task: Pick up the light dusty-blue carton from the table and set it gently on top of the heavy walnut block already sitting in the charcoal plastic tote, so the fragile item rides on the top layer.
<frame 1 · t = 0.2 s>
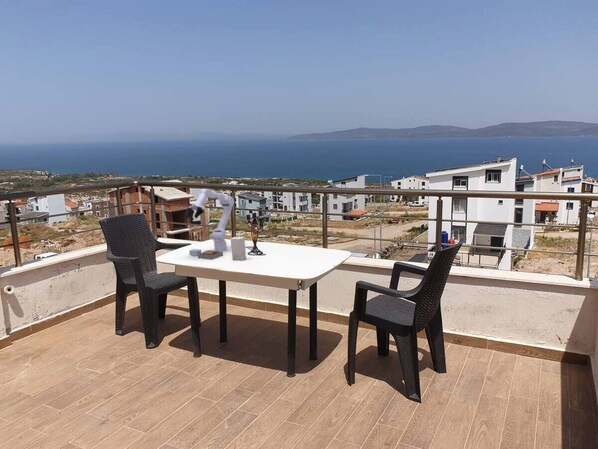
hand: (191, 217, 302), 31 cm above the table, tool tilted 45°, fingers open, 7 cm apart
carton: (195, 256, 319), on the table
skincare box: (239, 259, 306), on the table
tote: (210, 257, 313), on the table
walnut block: (210, 256, 313), point 1 cm above the table, touching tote
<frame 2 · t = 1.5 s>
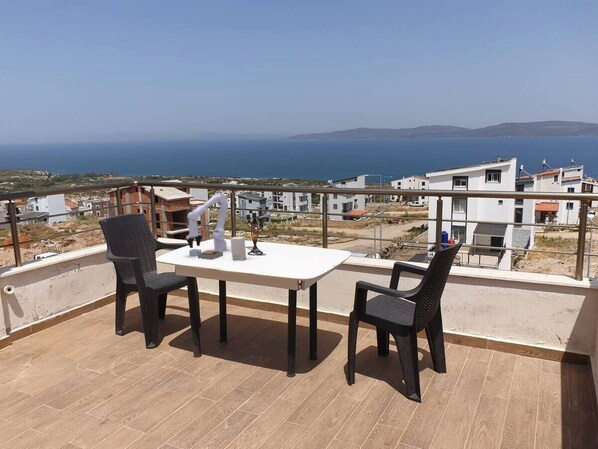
hand: (194, 246, 318), 7 cm above the table, tool pointing down, fingers open, 7 cm apart
nothing on the table moved.
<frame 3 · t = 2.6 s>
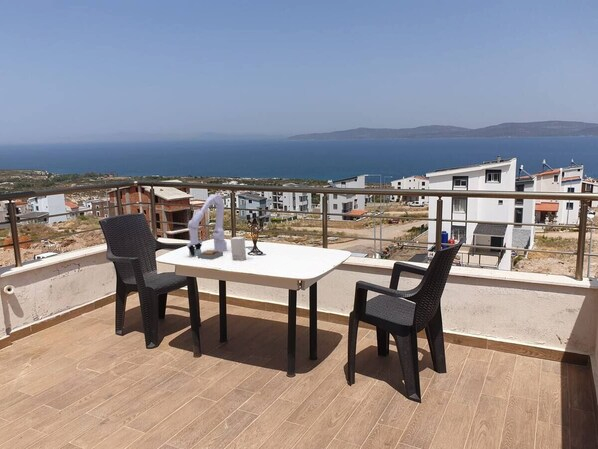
hand: (195, 254, 319), 1 cm above the table, tool pointing down, fingers closed on carton, 5 cm apart
carton: (195, 256, 319), on the table, touching gripper
everything else where it was.
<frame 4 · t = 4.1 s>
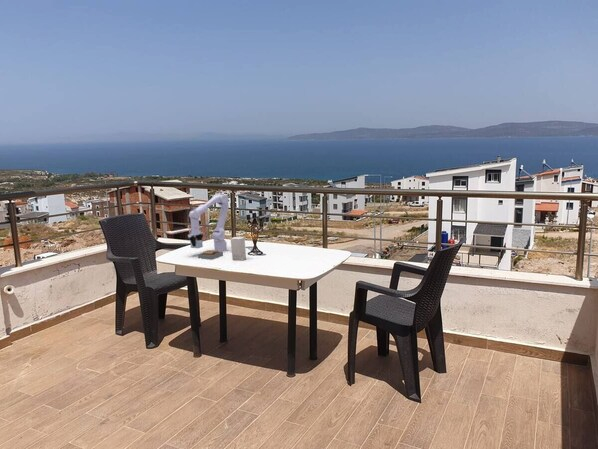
hand: (196, 245, 317), 8 cm above the table, tool pointing down, fingers closed on carton, 5 cm apart
carton: (196, 247, 317), point 7 cm above the table, touching gripper
everything else where it was.
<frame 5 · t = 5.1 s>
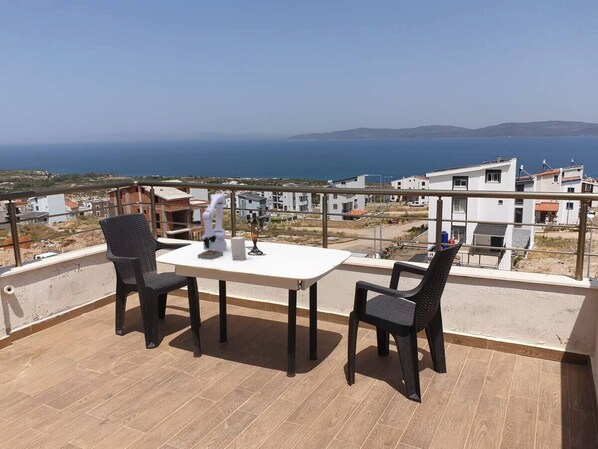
hand: (209, 247, 312), 8 cm above the table, tool pointing down, fingers closed on carton, 5 cm apart
carton: (209, 249, 312), point 6 cm above the table, touching gripper
everything else where it was.
when the fingers open (8 cm above the table, at t = 5.7 s): carton drops 1 cm, resting on walnut block.
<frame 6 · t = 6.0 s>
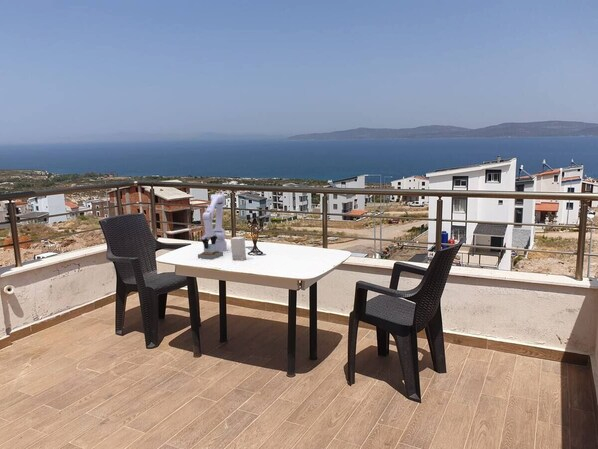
hand: (210, 247, 312), 8 cm above the table, tool pointing down, fingers open, 7 cm apart
carton: (210, 251, 312), point 5 cm above the table, touching walnut block
walnut block: (210, 256, 313), point 1 cm above the table, touching carton, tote
everything else where it was.
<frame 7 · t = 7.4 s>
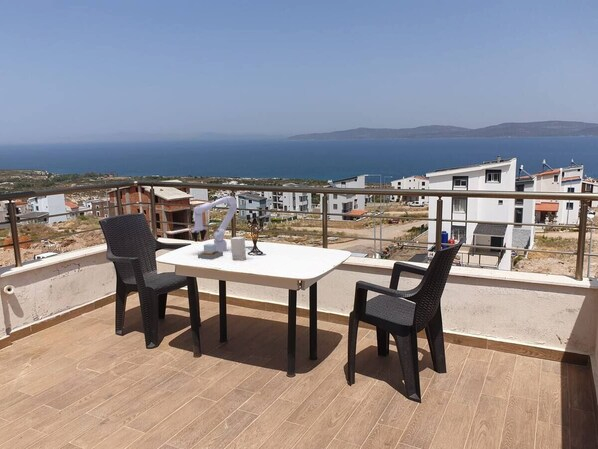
hand: (199, 240, 324), 10 cm above the table, tool pointing down, fingers open, 7 cm apart
nothing on the table moved.
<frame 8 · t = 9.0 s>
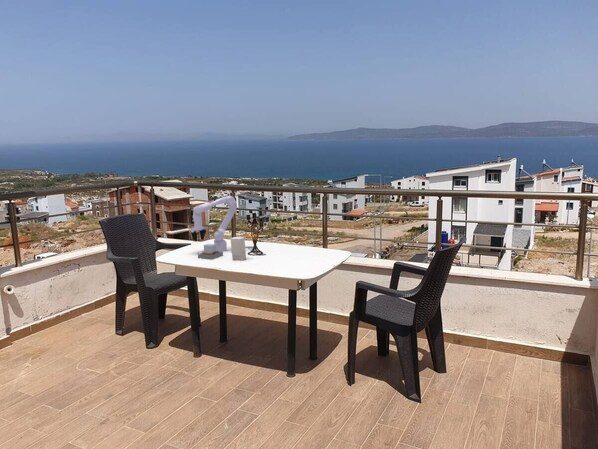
hand: (198, 240, 325), 10 cm above the table, tool pointing down, fingers open, 7 cm apart
nothing on the table moved.
at the end: carton 0.2 cm off-centre on the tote, point 4.8 cm above the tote's base; carton tilted 0°; the gripper is holding nothing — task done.
